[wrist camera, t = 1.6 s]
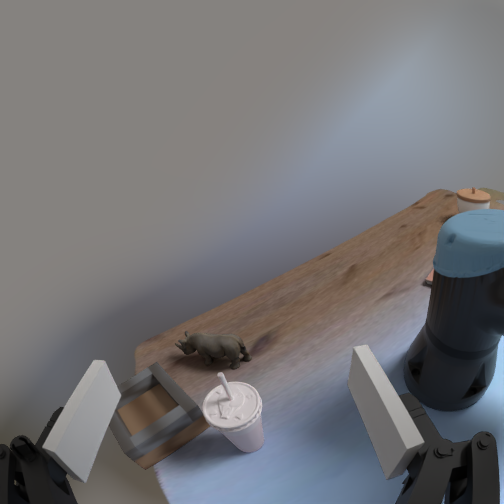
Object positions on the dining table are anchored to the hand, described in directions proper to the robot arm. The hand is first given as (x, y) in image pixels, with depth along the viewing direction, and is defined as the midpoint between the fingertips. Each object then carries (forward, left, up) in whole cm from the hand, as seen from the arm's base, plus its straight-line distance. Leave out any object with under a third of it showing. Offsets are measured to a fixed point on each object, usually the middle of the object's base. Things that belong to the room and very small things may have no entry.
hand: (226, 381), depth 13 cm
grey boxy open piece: (+5, -20, -23) cm, 31 cm away
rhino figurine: (-10, -25, -23) cm, 36 cm away
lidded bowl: (-91, +6, -23) cm, 94 cm away
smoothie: (-3, -8, -23) cm, 25 cm away
